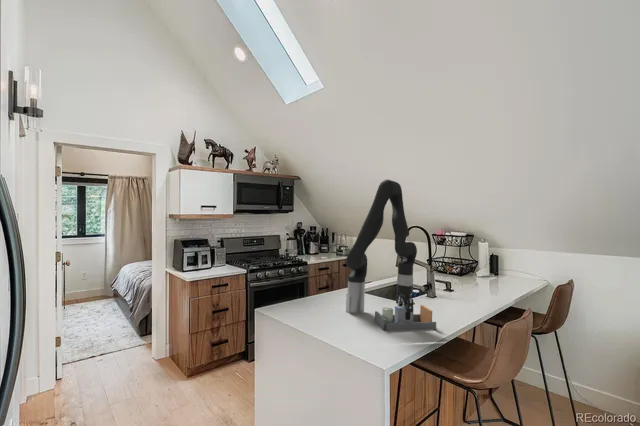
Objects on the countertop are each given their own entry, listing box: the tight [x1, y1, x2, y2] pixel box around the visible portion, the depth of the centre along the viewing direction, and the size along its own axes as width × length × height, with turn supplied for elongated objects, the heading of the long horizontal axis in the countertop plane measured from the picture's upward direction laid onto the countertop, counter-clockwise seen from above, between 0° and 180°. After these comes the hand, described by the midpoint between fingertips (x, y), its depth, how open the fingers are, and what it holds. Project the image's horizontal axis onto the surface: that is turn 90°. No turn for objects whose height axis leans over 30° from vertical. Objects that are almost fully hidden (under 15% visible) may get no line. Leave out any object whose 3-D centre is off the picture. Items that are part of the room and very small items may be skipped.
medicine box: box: [394, 305, 415, 323], centre depth 158 cm, size 8×4×9 cm, turn 97°
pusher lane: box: [374, 310, 437, 332], centre depth 158 cm, size 26×12×6 cm, turn 100°
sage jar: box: [381, 307, 394, 323], centre depth 157 cm, size 5×5×8 cm
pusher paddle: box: [419, 304, 433, 322], centre depth 160 cm, size 1×10×8 cm, turn 10°
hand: (403, 316), depth 158 cm, fingers open, 8 cm apart
